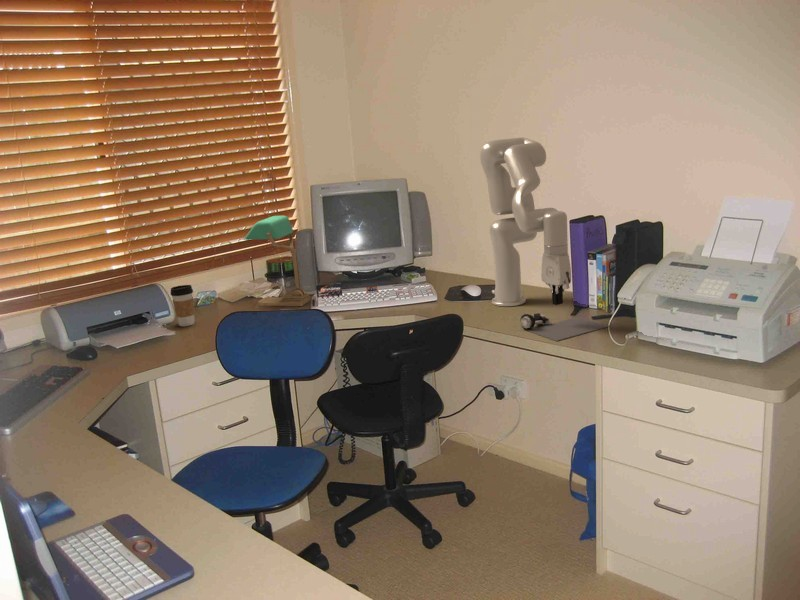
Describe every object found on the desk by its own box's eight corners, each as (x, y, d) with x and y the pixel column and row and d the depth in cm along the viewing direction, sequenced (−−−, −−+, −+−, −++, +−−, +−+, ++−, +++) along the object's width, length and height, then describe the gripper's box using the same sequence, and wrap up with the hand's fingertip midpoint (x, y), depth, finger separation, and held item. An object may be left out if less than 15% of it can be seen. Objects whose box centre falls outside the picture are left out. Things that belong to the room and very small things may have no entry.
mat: (527, 331, 256) (527, 330, 256) (578, 317, 266) (578, 316, 266) (556, 341, 244) (556, 340, 244) (608, 326, 254) (608, 325, 254)
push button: (554, 315, 259) (535, 319, 253) (550, 330, 261) (532, 334, 254) (538, 308, 264) (520, 312, 257) (535, 323, 266) (516, 326, 259)
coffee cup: (188, 327, 294) (182, 289, 290) (170, 326, 297) (164, 288, 293) (202, 321, 301) (196, 283, 297) (185, 320, 305) (179, 283, 301)
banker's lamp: (298, 308, 308) (287, 221, 299) (251, 308, 314) (239, 222, 305) (314, 297, 322) (304, 214, 313) (269, 297, 329) (258, 215, 320)
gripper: (532, 248, 257) (534, 301, 262) (562, 254, 245) (564, 310, 249) (550, 244, 261) (551, 297, 265) (580, 250, 248) (581, 306, 253)
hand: (557, 303), depth 257 cm, fingers closed
